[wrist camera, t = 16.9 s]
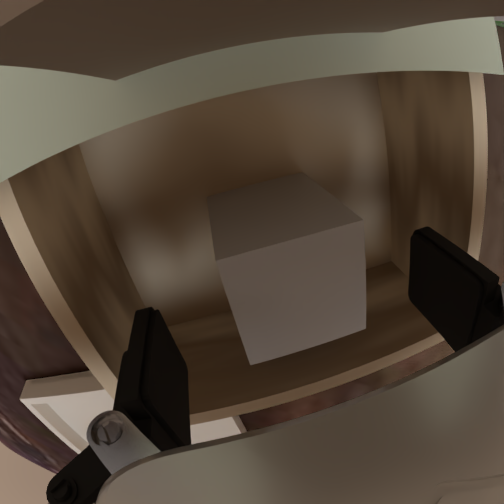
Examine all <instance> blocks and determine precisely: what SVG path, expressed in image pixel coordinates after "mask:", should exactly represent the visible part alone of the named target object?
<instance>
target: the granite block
mask: <svg viewBox="0 0 504 504" xmlns="http://www.w3.org/2000/svg"><path fill="white" fill-rule="evenodd" d="M207 203H208V211H209V218H210V225H211V233H212V240H213V247H214V254H215V261H216V264H217V267H218V270H219V273H220V276H221V280H222V283H223V286H224V289H225V292H226V295H227V298H228V301H229V304H230V307H231V310H232V313H233V316H234V319H235V322H236V325H237V328H238V331H239V334H240V337H241V340H242V343H243V345H244V348H245V351H246V354H247V357H248V360H249V363H250V365H254V364H257V363H261V362H264V361H268V360H272V359H275V358H278V357H282V356H285V355H289V354H292V353H295V352H298V351H302V350H305V349H308V348H311V347H314V346H317V345H320V344H323V343H326V342H329V341H332V340H335V339H338V338H341V337H344V336H347V335H350V334H353V333H355V332H358V331H361V330H364V329H366V261H365V238H364V221H363V219H362V218H361V217H359V216H358V215H357V214H356V213H354V212H353V211H352V210H351V209H349V208H348V207H347V206H346V205H344V204H343V203H342V202H341V201H339V200H338V199H337V198H336V197H334V196H333V195H332V194H330V193H329V192H328V191H327V190H325V189H324V188H323V187H321V186H320V185H319V184H317V183H316V182H315V181H313V180H312V179H311V178H309V177H308V176H307V175H305V174H304V173H303V172H301V173H297V174H292V175H288V176H284V177H280V178H276V179H272V180H268V181H264V182H260V183H256V184H252V185H248V186H244V187H241V188H237V189H233V190H229V191H226V192H222V193H218V194H215V195H211V196H208V197H207Z"/></svg>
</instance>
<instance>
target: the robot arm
mask: <svg viewBox="0 0 504 504" xmlns="http://www.w3.org/2000/svg"><path fill="white" fill-rule="evenodd" d="M498 282H499V277H498V276H497V275H496V274H495V273H493V272H492V271H491V270H489V269H488V268H487V267H485V266H484V265H483V264H481V263H480V262H479V261H477V260H476V259H475V258H473V257H472V256H471V255H469V254H468V253H466V252H465V251H464V250H462V249H461V248H459V247H458V246H457V245H455V244H454V243H452V242H451V241H449V240H448V239H447V238H445V237H444V236H442V235H441V234H439V233H438V232H436V231H435V230H433V229H432V228H430V227H428V226H427V227H423V228H420V229H417V230H415V231H414V232H413V235H412V236H411V238H410V267H409V286H408V297H409V299H410V301H411V303H412V304H413V305H414V306H415V307H416V308H417V309H418V310H419V311H420V312H421V313H422V315H423V316H424V317H425V318H426V319H427V320H428V321H429V322H430V323H431V324H432V326H433V327H434V328H435V329H436V330H437V331H438V332H439V334H440V335H441V336H442V337H443V338H444V339H445V340H446V342H447V343H448V344H449V345H450V346H451V347H452V349H453V350H454V351H455V353H453V354H451V355H449V356H447V357H445V358H443V359H442V360H440V361H438V362H436V363H434V364H432V365H430V366H428V367H426V368H423V369H421V370H419V371H417V372H415V373H413V374H411V375H409V376H407V377H404V378H402V379H400V380H398V381H395V382H393V383H391V384H389V385H386V386H384V387H381V388H379V389H377V390H374V391H372V392H369V393H367V394H364V395H362V396H359V397H357V398H354V399H351V400H349V401H346V402H343V403H341V404H338V405H335V406H332V407H329V408H326V409H324V410H321V411H318V412H315V413H312V414H309V415H305V416H302V417H299V418H296V419H293V420H289V421H286V422H282V423H279V424H275V425H272V426H268V427H264V428H260V429H256V430H252V431H249V432H245V433H241V434H237V435H232V436H228V437H224V438H219V439H215V440H210V441H205V442H200V443H196V444H192V445H191V430H190V411H189V387H188V368H187V365H186V362H185V360H184V358H183V357H182V355H181V353H180V351H179V349H178V347H177V345H176V343H175V341H174V339H173V337H172V335H171V333H170V331H169V329H168V327H167V325H166V323H165V321H164V319H163V317H162V315H161V313H160V311H159V310H158V309H157V310H154V309H153V308H152V307H148V308H144V309H140V310H137V311H136V312H135V316H134V320H133V325H132V330H131V335H130V340H129V345H128V350H127V351H125V352H124V353H123V356H122V360H121V366H120V371H119V376H118V382H117V388H116V393H115V400H114V406H113V410H109V411H105V412H102V413H101V414H99V415H97V416H96V417H95V418H94V419H93V420H92V421H91V423H90V424H89V426H88V429H87V432H86V435H87V441H88V443H89V445H88V446H87V447H86V448H85V449H84V450H83V451H82V452H81V453H80V454H79V455H77V456H76V457H75V458H74V459H73V460H72V461H71V462H70V463H69V464H68V465H66V466H65V467H64V468H63V469H62V470H61V471H60V472H59V473H57V474H56V475H55V476H54V477H53V478H52V479H51V481H50V482H49V484H48V486H47V492H46V494H47V500H48V502H49V503H48V504H504V282H503V284H502V285H501V286H500V285H499V284H498Z"/></svg>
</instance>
